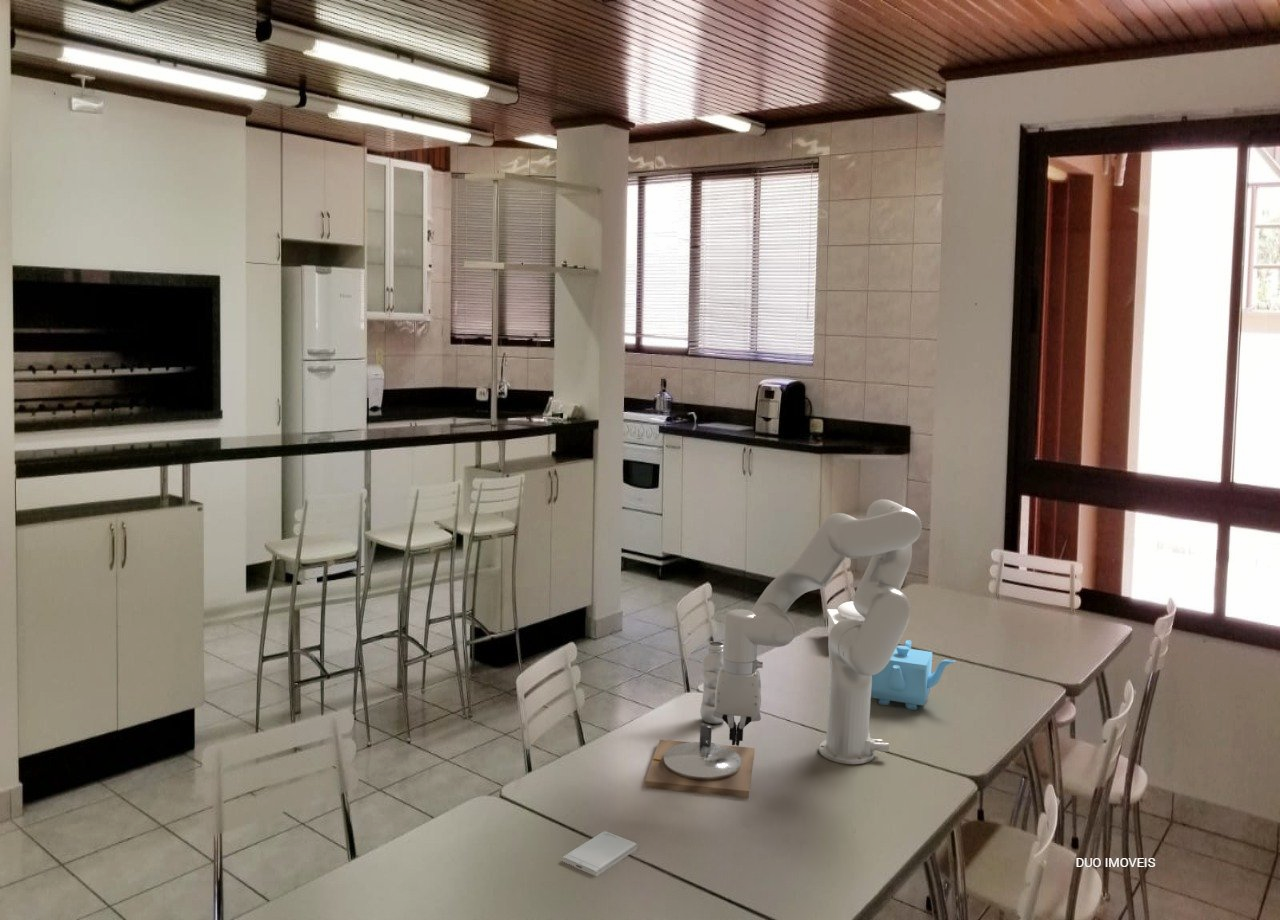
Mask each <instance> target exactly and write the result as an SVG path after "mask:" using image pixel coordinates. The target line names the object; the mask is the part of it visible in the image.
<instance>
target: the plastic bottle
mask: <svg viewBox="0 0 1280 920" xmlns="http://www.w3.org/2000/svg"><path fill="white" fill-rule="evenodd" d="M707 652H708V653H707V654H706V655H705V656H704V658H702V662H701V671H702V679H703V684H702V685H703V690H702V702H701V705H700V711H699V712H700V717H701V719H702V721H704V722H706V724H716V725H717V724H722V723H725V721H724V720H723V719H720V718H717V717H714V716H713V713H714V710H715V694H716V684H717V677H718V672H719V669H720V668H721V667H722V665H723V642H720V641H709V642H708V648H707Z"/></svg>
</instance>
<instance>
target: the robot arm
mask: <svg viewBox="0 0 1280 920" xmlns="http://www.w3.org/2000/svg"><path fill="white" fill-rule="evenodd" d="M922 528H923V525H922V520H921V518H920V516H919V515H918V514H917V512H915V511H913V510H912V509H910V508H908V507H906V506H904V505H901V504H899V503H898V502H895V501H893V500H889V499H885V498H881V499H877V500H874V501H873V502H872V503H871V504H870V505H869V506H868V509H867V510H866V518H861V519H858V518H855V517H854V516H851V515H849V514H846V513H842V512H836V513H832V514H830V515H829V516H828V517H827V518H826V519H825V520H824V521H823V522H822V523H821V525H820V527H819V528H818V530H817V531H816V532H815V534H814V535H813V537H812V538H811V540H810V541H809V542H808V544H807V545H806V547H805V548H804V550H803V551H802V552H801V554H800V555H799V557H798V558H797V559H796V561H794V562H793V564H792V565H791V566H790V567H788V568H786V569H785V570H784V571H783V572H782V573H780V574H779V575H778V576H776V577H775V578H774V579H773V580H772V581H771V582H770V583H769V584H768V585H767V586H766V587H765V589H764V591H763V592H762V593H761V594H760V596H759V598H757V600H756V602H755V603H754V605H753V607H752V609H751V610H749V609H740V608H738V609H731V610H729V611H727V612H726V613H725V616H724V621H723V622H724V623H723V642H722V643H723V652H722V653H723V665H722V667H721V668H720V669H719V672H718V677H717V684H716V694H715V710H714V713H713V716H714V717H717V718H720V719H723V720H724V723H726V724H727V726H728V728H729V734H728V735H729V737H728V739H729V741H731V746H738V747H740V742H743V741H744V738H743V737H744V729H745V727H747V726H748V725H749V724H750V723H751V722H753V723H755V722H760V721H761V720H762V716H761V715H762V714H761V711H760V709H761V704H762V703H761V701H762V699H761V698H762V697H761V696H762V694H761V692H762V686H761V685H762V684H761V675H760V670H759V669H763V667H764V666H763V661H759V659H757V654H758V646H764V647H772V648H781V647H782V648H783V647H786V646H787V645H789V644H791V642H792V641H793V640H794V639H795V637H796V627H795V624H794V622H793V620H792V619H791V618H790V617H789V616H788V615H786V613H787V612H788V610H789V609H790V607H791V606H792V605H793V603H794V602H795V601H796V600H797V599H799V598H800V597H801V596H802V595H805V593H808V592H811V591H815V590H819V589H823V588H824V587H826V586H827V585H828V584H829V583H830V581H831V579H832V578H833V577H834V575H835V573H836V572H837V571H838V569H839V568H840V566H841V565H842V564H843V562H844V561H845V559H846V558H848V559H850V560H851V559H852V560H855V559H856V560H857V559H864V558H865V559H866V558H870V557H871V559H870V561H869V563H868V566H867V568H866V570H865V572H864V574H863V576H862V578H861V580H860V582H859V584H858V586H857V587H856V590H855V592H854V594H853V597H852V598H853V599H852V601H853V604H854V607H855V609H856V610H857V612H858V613H859V614H860V615H862V616H863V617H864V618H865V620H864V622H863V623H862V622H860V621H858V620H855V619H844V620H841V621H839V622H838V623H836V624H835V625H834V627H833V628H832V630H831V632H830V635H829V638H828V643H827V644H828V645H827V648H828V656H829V657H828V659H829V686H828V700H827V718H826V722H827V723H826V735H825V736H826V738H825V739H824V740H822V741H821V742H820V743H819V746H818V752H819V753H820V755H821V756H822V757H824V758H825V759H826V760H828V761H831V762H835V763H838V764H844V765H861V764H866V763H869V762H870V761H872V760H873V759H874V758H875V751H879V752H889V749H890V747H889V746H890V745H889V743H888V742H884V741H883V739H881V738H880V739H879V738H877V739H876V738H873V737H871V734H870V719H871V699H872V697H871V690H872V675H875V674H877V673H879V672H881V671H882V670H883V669H884V668H885V667H886V665H887V664H888V662H889V661H890V659H891V657H892V655H893V653H894V651H895V649H896V647H897V646H899V643H900V641H901V640H902V637H903V635H904V633H905V630H906V629H907V627H908V625H909V621H910V618H911V604H910V602H909V599H908V597H907V595H905V593H904V592H902V591H901V589H902V586H903V584H904V582H905V578H906V577H907V574H908V572H909V569H910V566H911V563H912V557H913V548H912V547H913V544H914V543H915V542H916V541H917V540H918V539H919V538H920V535H921V533H922V530H923V529H922ZM736 716H737V717H740V719H739V722H738V723H736V720H735V717H736Z"/></svg>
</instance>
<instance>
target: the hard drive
mask: <svg viewBox="0 0 1280 920" xmlns="http://www.w3.org/2000/svg"><path fill="white" fill-rule="evenodd" d="M637 850H638V844H637V843H636V842H634V841H632V840H629V839H627V838H624V837H621V836H619V835H616V834H613V833H611V832H608V831H606V830H604V831H602V832H601V833H599V834H597V835H595V836H594V837H592V838H591V839H588V840H587V841H586V842H583V844H581V845H579V846H577V847H576V848H574V849H573V850H571V851H570V852H568V853H566V854H565V855H563V856H562V857H561V862H562V861H563V862H562V863H564V862H565V863H564V864H566V863H567V865H569V864H570V865H569V866H571V865H572V866H571V867H573V866H574V868H576V869H578V870H581V871H583V872H585V873H588V874H589V875H592V876H594V877H598V876H599V875H601V874H603V873H604V872H605V871H607V870H608V869H609V868H611V867H613V866H614V865H616V864H617V863H619V862H620V861H622V860H623V859H624V858H626V857H628V856H629V855H630V854H632V853H634V852H635V851H637Z"/></svg>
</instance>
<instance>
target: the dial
mask: <svg viewBox="0 0 1280 920" xmlns="http://www.w3.org/2000/svg"><path fill="white" fill-rule="evenodd" d="M699 728H700V730H699V741H687V742H688V743H682V744H678V745H675V746H673V747H671V748H669V749H668V750H667V751H666V752H665V754H664V765H665V767H666V768H667V769H668V770H669V771H671V772H672V773H674V774H676V775H679V776H682V777H685V778H689V779H696V780H717V779H723V778H727V777H729V776H732V775H734V774H735V773H737V772H738V771H739V769H740V767H741V758H740V756H739V755H738V754H737V753H736V752H735V751H734V750H732V749H730V748H728V747H726V746H723V745H724V744H719V743H714V742H712V732H713V731H712V728H713V726H712V725H711V723H702V724H700V727H699Z"/></svg>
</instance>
